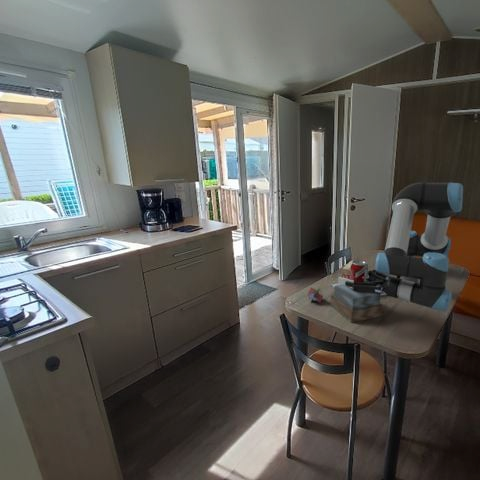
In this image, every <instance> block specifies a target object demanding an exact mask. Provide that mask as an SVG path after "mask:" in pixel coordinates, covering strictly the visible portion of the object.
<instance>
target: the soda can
mask: <svg viewBox="0 0 480 480" xmlns="http://www.w3.org/2000/svg"><path fill="white" fill-rule="evenodd" d="M352 261H353V262H352V265H351V268H350V280H353V281H356V282H368V277H367V274H368V271H369V267H368V266H367V265H366V264H367V263H368V262H367V261H363V260H352ZM350 288H351V289H352V290H353V288H352V287H350Z"/></svg>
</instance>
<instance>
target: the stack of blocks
mask: <svg viewBox="0 0 480 480" xmlns="http://www.w3.org/2000/svg"><path fill="white" fill-rule="evenodd" d="M353 261H354V260H350V261H349V262H348V263H347V264H346V265H345V266H343V267H342V275H341V277H342V278H346V279H349V280H350V268H351V265H352V262H353ZM366 263H367V264H366V265H367V266H368V264H369V263H368V262H366Z"/></svg>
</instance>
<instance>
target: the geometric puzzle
mask: <svg viewBox="0 0 480 480" xmlns="http://www.w3.org/2000/svg"><path fill="white" fill-rule="evenodd" d="M321 290H322V289H321V288H318V289H315V288H314V287H310V289H308V293H307V297H309V298H308V299H309V300H310V303H314V302H317V303H318V304H321V302H322V299H323V296H324V294H323V293H320V291H321ZM310 298H311V299H310Z"/></svg>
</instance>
